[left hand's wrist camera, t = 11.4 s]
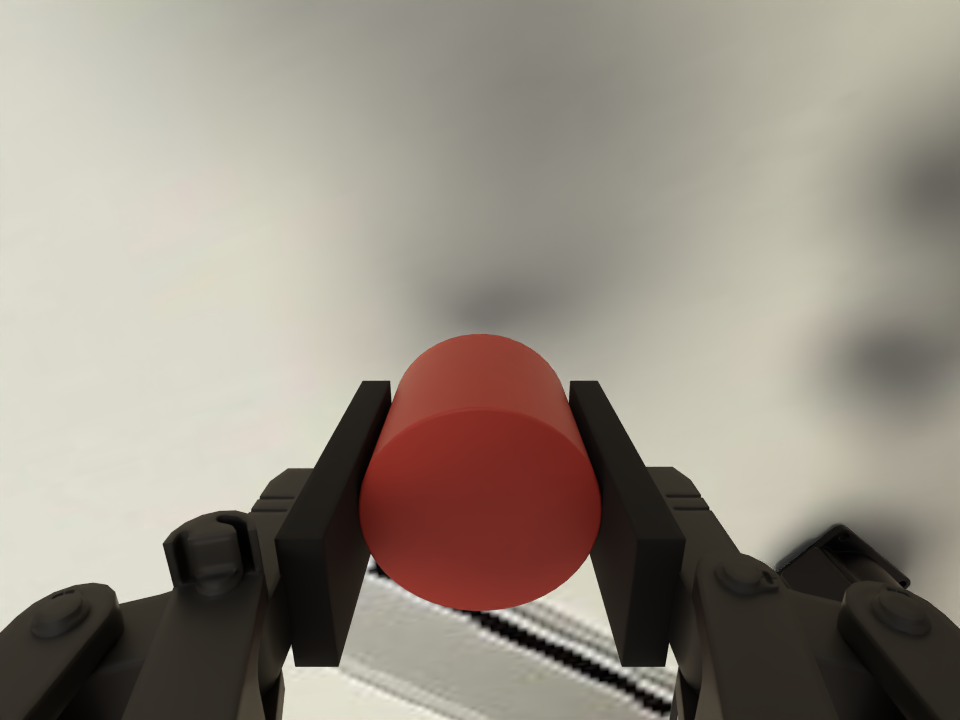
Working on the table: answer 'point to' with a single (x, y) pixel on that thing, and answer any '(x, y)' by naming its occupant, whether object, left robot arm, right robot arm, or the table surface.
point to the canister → (480, 479)
